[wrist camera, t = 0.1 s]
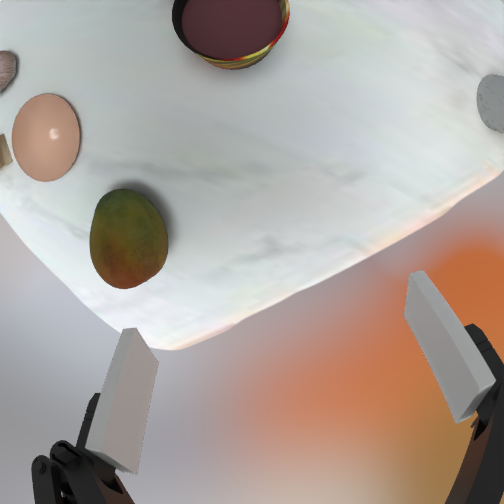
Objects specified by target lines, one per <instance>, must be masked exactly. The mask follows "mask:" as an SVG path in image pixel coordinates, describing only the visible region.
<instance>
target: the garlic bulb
mask: <svg viewBox="0 0 504 504" xmlns="http://www.w3.org/2000/svg"><path fill="white" fill-rule="evenodd" d="M15 67H16V60H15V57H14V56H13V55H12V54H9V52H7V51H0V92H1V90H2V89H4V88H5V87H6V86H7V84H8V83H9V81H11V80H12V79H13V77H14V76H15V73H16V69H15Z"/></svg>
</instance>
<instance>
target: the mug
mask: <svg viewBox="0 0 504 504" xmlns="http://www.w3.org/2000/svg"><path fill="white" fill-rule="evenodd" d="M289 16H290V11H289V3H288V0H175V1H174V5H173V9H172V22H173V26H174V30H175V32H176V34H177V35H178V37H179V39H180V40H181V41H182V42H183V43H184V45H185V46H186V47H188V48H189V49H190V50H192V51H193V52H194V53H196V54H197V55H199V56H200V57H202V58H203V59H205V60H206V61H207V62H209V63H211V64H213V65H214V66H217V67H220V68H223V69H231V70H233V69H243V68H247V67H250V66H252V65H255V64H256V63H258V62H259V61H261V60H262V59H263V58H264V57H265V56H266V55H267V54H268V53H269V51H270V50H271V49H272V48H273V46H274V45H275V44H276V42H277V41H278V40H279V39H280V37H281V36H282V35H283V33H284V31H285V29H286V27H287V25H288V20H289Z"/></svg>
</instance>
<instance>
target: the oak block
mask: <svg viewBox="0 0 504 504" xmlns="http://www.w3.org/2000/svg"><path fill="white" fill-rule="evenodd" d="M12 161H13V160H12V157H11V154H10V151H9V148H8V145H7V142H6V139H5V136H4V134H2V135H0V170H1V169H2V168H3V167H5V166H6V165H8V164H9V163H11V162H12Z"/></svg>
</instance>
